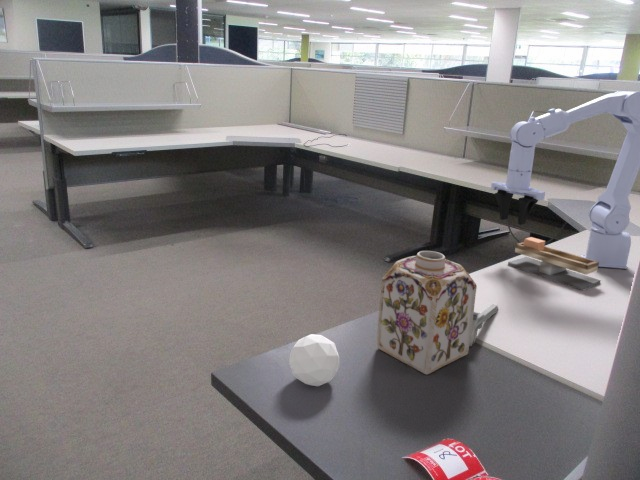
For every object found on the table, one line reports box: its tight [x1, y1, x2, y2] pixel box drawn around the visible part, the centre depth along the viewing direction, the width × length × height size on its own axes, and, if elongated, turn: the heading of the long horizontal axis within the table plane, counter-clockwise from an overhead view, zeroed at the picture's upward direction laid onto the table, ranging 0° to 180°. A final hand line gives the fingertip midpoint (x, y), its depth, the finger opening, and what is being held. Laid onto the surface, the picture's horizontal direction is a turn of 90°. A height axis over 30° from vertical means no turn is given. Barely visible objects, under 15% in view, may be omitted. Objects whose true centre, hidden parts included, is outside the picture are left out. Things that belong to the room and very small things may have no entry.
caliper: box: [469, 304, 499, 347], centre depth 103 cm, size 20×1×6 cm, turn 149°
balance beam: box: [507, 241, 602, 291], centre depth 132 cm, size 20×8×6 cm, turn 36°
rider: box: [523, 236, 546, 251], centre depth 136 cm, size 4×3×2 cm
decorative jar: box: [376, 250, 477, 376], centre depth 90 cm, size 12×12×18 cm
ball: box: [288, 333, 340, 387], centre depth 82 cm, size 8×8×8 cm
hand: (512, 221), depth 140 cm, fingers open, 5 cm apart
